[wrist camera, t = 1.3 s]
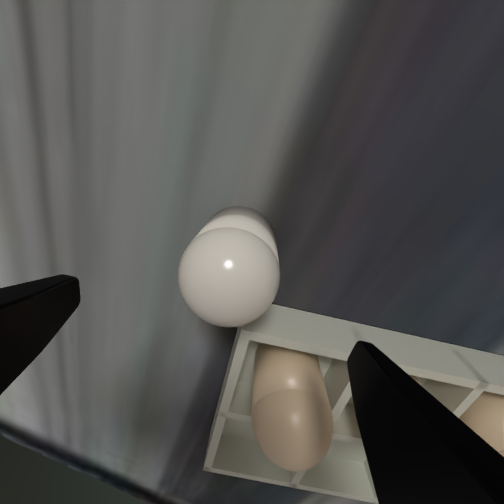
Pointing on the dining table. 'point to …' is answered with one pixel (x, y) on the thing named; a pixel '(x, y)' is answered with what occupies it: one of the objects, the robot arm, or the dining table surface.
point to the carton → (331, 399)
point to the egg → (231, 268)
